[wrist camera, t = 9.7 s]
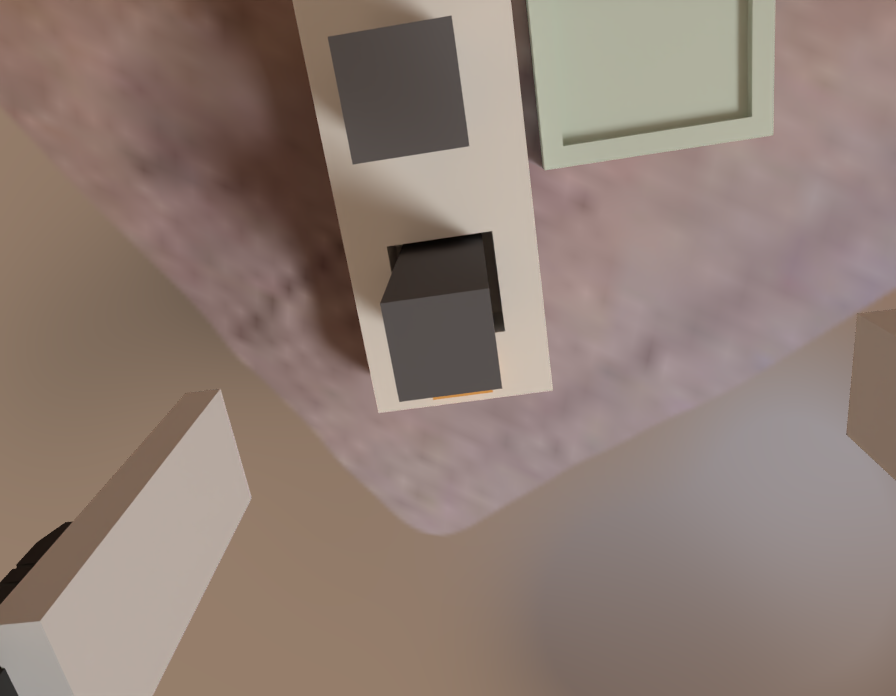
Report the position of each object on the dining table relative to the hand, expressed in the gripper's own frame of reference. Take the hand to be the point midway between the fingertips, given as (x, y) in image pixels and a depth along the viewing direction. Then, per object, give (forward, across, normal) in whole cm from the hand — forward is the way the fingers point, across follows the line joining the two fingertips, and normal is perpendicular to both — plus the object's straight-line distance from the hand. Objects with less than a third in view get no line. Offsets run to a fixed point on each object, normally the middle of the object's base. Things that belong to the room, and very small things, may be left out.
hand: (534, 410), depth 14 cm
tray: (+23, +8, +7) cm, 25 cm away
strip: (+23, -3, +1) cm, 23 cm away
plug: (+22, -3, -3) cm, 22 cm away
